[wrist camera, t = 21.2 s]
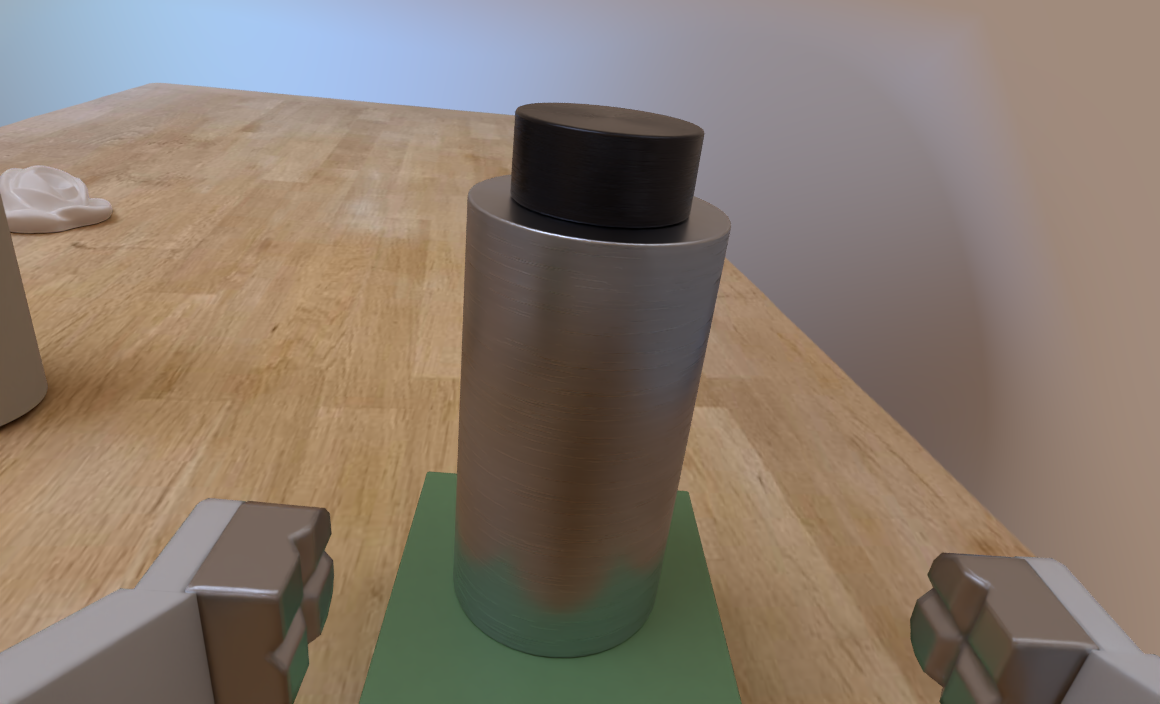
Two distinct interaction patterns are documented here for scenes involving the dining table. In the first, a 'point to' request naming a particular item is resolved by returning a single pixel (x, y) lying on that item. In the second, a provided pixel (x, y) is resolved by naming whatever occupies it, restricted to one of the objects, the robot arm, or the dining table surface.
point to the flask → (579, 372)
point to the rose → (48, 201)
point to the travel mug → (16, 338)
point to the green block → (536, 683)
